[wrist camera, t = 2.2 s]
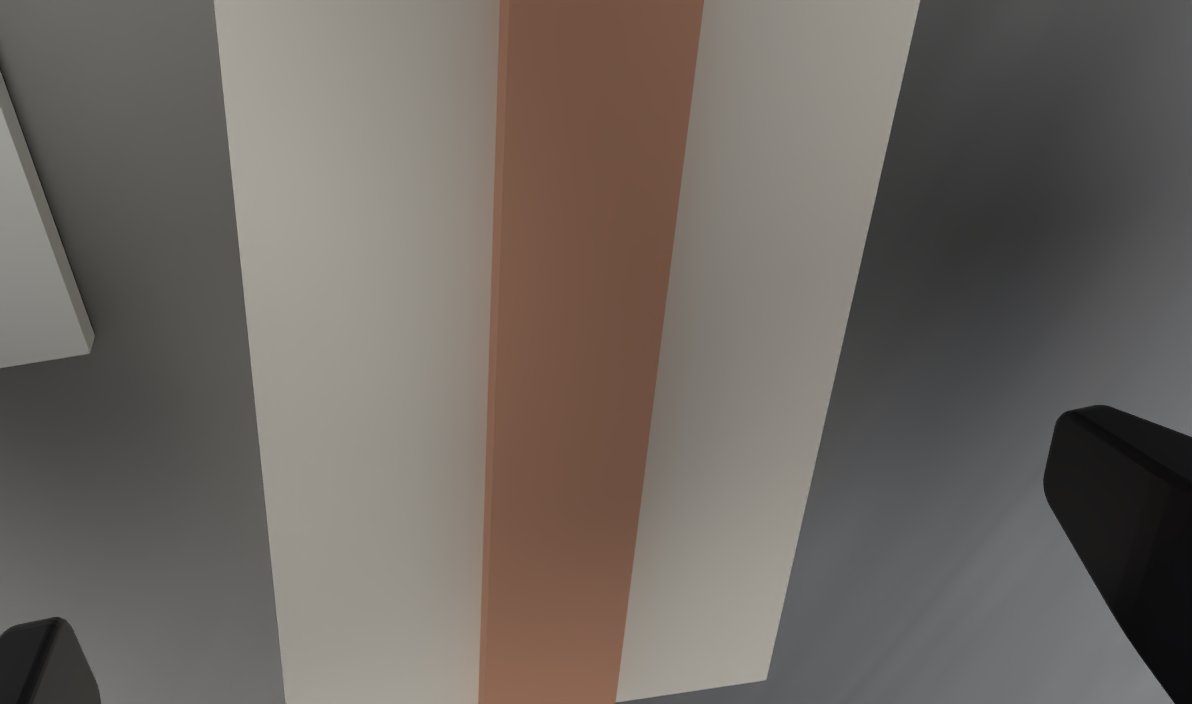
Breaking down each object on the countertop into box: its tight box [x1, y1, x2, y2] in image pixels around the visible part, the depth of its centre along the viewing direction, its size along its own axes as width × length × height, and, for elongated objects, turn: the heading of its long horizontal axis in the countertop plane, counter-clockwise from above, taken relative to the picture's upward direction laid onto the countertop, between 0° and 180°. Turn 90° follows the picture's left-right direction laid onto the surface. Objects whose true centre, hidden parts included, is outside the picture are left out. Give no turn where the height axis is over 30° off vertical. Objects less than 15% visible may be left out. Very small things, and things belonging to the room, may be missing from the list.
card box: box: [214, 0, 920, 704], centre depth 12 cm, size 9×6×4 cm, turn 176°
